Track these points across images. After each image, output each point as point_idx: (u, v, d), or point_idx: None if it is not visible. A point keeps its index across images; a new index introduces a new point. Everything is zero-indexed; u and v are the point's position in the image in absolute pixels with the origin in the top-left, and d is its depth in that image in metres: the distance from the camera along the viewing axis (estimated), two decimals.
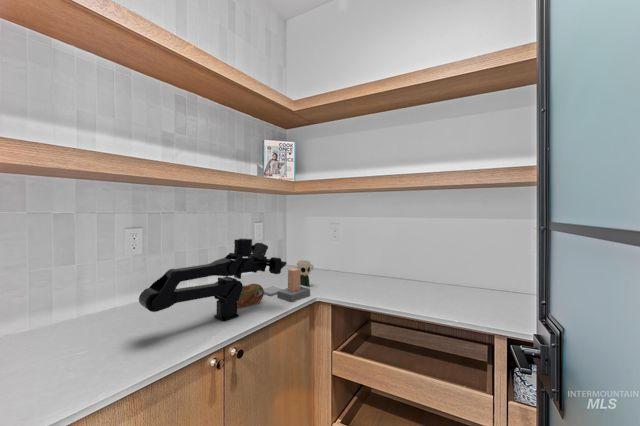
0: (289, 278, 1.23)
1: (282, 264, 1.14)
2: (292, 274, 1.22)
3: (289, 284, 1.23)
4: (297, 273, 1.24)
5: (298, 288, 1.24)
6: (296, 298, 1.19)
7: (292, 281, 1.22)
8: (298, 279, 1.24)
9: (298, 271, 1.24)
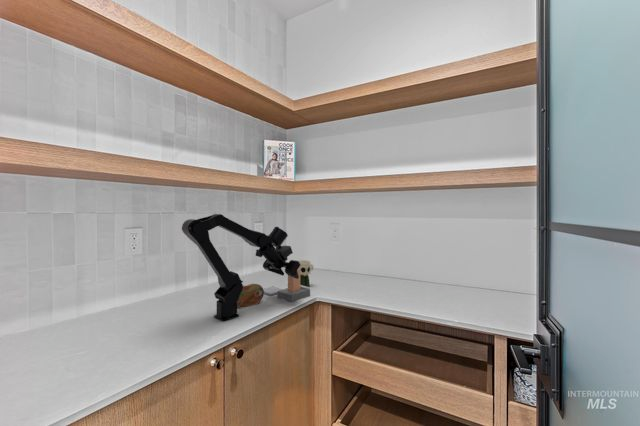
0: (289, 278, 1.23)
1: (296, 274, 1.17)
2: None
3: (289, 284, 1.23)
4: None
5: (298, 288, 1.24)
6: (296, 298, 1.19)
7: (292, 281, 1.22)
8: (298, 279, 1.24)
9: (298, 271, 1.24)
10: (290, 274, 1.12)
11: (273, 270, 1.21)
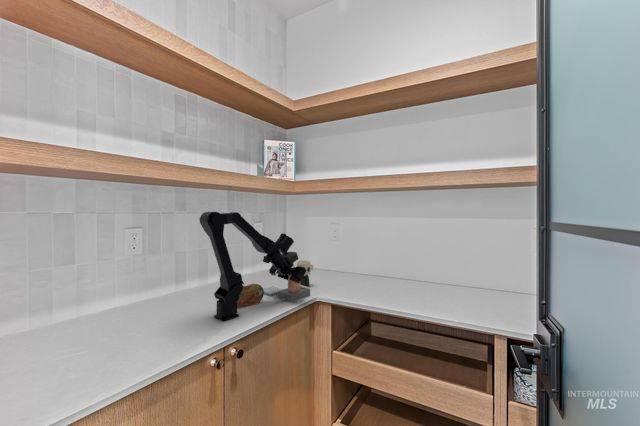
0: (289, 278, 1.23)
1: None
2: None
3: (289, 284, 1.23)
4: None
5: (298, 288, 1.24)
6: (296, 298, 1.19)
7: (292, 281, 1.22)
8: None
9: None
10: (296, 280, 1.15)
11: (283, 276, 1.23)
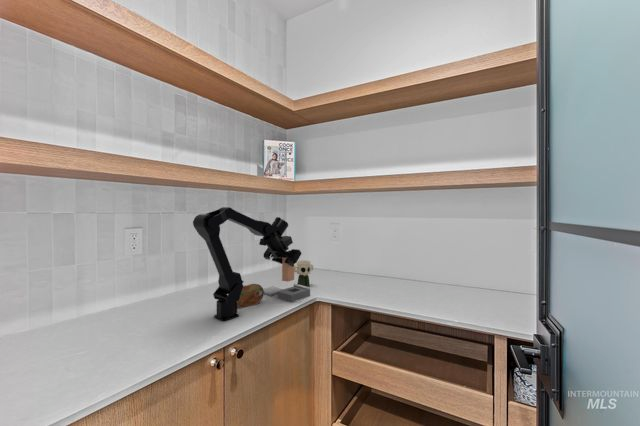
0: (283, 262, 1.26)
1: None
2: None
3: (283, 267, 1.26)
4: None
5: (292, 272, 1.27)
6: (296, 298, 1.19)
7: (287, 264, 1.24)
8: None
9: None
10: (292, 262, 1.17)
11: (278, 260, 1.25)
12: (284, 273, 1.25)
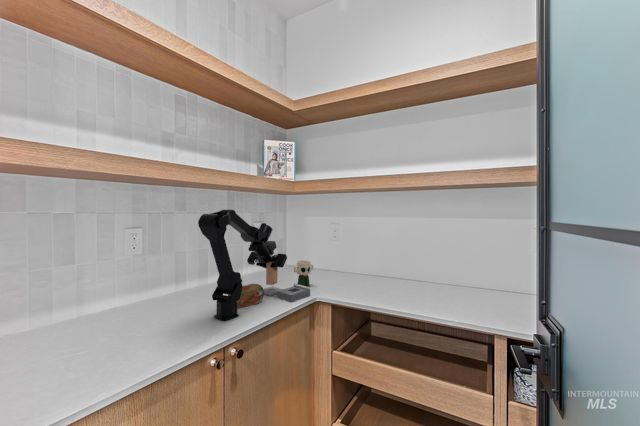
0: (268, 266, 1.29)
1: None
2: None
3: (267, 271, 1.29)
4: None
5: (276, 275, 1.31)
6: (296, 298, 1.19)
7: (271, 268, 1.29)
8: None
9: None
10: (279, 266, 1.22)
11: (262, 265, 1.28)
12: (268, 277, 1.29)
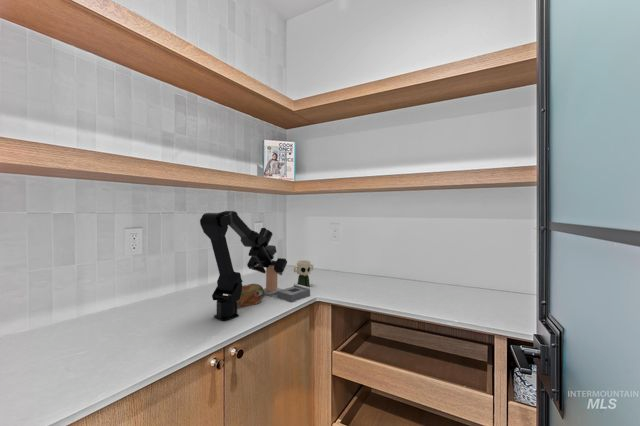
0: (268, 272, 1.29)
1: None
2: (271, 268, 1.29)
3: (267, 278, 1.30)
4: None
5: (275, 282, 1.32)
6: (296, 298, 1.19)
7: (271, 275, 1.29)
8: (276, 273, 1.32)
9: None
10: (279, 271, 1.22)
11: (257, 269, 1.29)
12: (268, 283, 1.29)
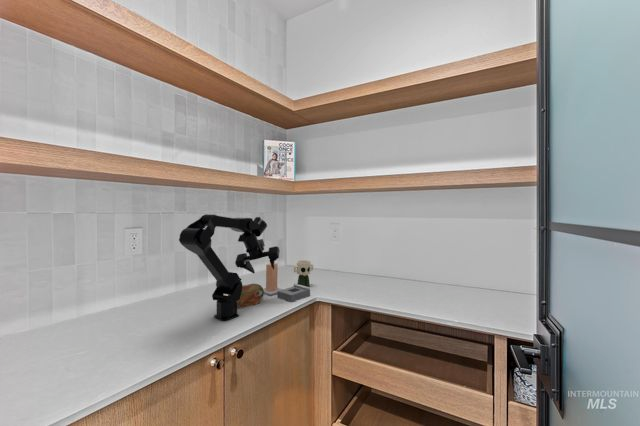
0: (268, 272, 1.30)
1: None
2: (271, 268, 1.29)
3: (267, 278, 1.30)
4: (275, 267, 1.31)
5: (275, 282, 1.32)
6: (296, 298, 1.19)
7: (271, 275, 1.29)
8: (276, 273, 1.32)
9: (276, 265, 1.32)
10: (274, 258, 1.15)
11: (247, 266, 1.18)
12: (268, 283, 1.29)
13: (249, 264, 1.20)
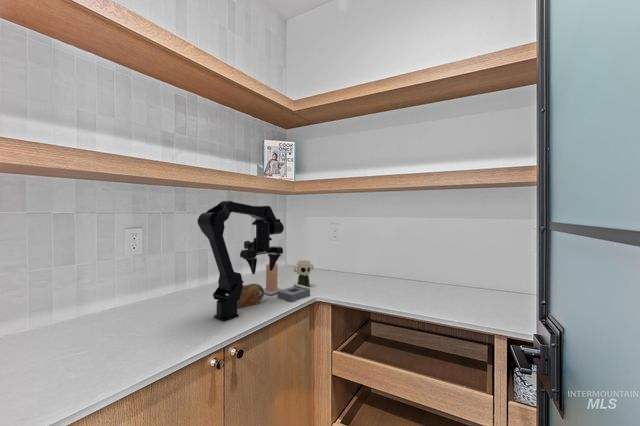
0: (268, 272, 1.30)
1: None
2: None
3: (267, 278, 1.30)
4: (275, 267, 1.31)
5: (275, 282, 1.32)
6: (296, 298, 1.19)
7: (271, 275, 1.29)
8: (276, 273, 1.32)
9: (276, 265, 1.32)
10: (281, 252, 1.20)
11: None
12: (268, 283, 1.29)
13: None
